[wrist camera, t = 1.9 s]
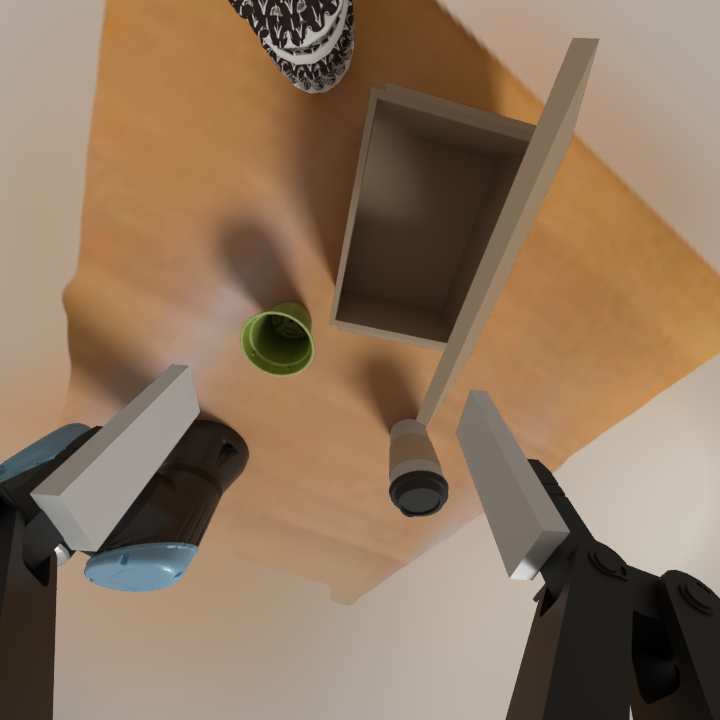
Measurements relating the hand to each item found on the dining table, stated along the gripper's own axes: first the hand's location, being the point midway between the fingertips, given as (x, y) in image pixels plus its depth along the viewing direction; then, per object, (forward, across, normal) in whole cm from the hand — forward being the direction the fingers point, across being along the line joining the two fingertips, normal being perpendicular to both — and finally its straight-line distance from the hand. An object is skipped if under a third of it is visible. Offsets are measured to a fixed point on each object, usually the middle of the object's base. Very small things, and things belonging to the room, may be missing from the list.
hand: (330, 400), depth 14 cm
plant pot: (+31, -9, -9) cm, 33 cm away
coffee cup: (+31, +13, -30) cm, 45 cm away
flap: (+12, +11, +4) cm, 17 cm away
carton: (+31, +7, +5) cm, 32 cm away
